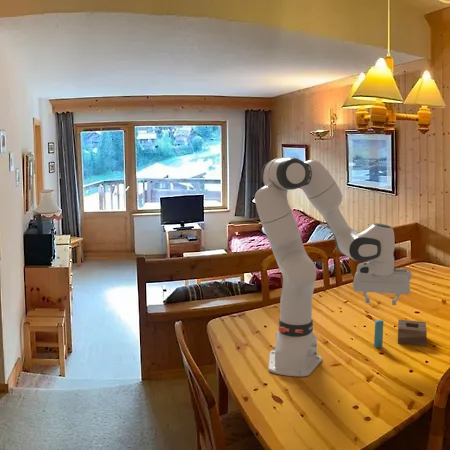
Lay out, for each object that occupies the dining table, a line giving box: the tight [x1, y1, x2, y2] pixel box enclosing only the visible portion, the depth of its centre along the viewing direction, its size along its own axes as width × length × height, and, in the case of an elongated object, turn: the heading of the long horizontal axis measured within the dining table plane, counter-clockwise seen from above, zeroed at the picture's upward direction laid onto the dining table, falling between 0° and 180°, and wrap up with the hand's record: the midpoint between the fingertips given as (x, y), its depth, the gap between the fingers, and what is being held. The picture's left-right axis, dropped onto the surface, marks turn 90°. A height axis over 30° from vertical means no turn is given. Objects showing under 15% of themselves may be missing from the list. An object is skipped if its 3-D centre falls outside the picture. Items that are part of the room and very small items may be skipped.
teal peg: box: [373, 319, 384, 349], centre depth 198 cm, size 3×3×10 cm
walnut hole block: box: [397, 319, 428, 347], centre depth 204 cm, size 10×10×6 cm
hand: (380, 303), depth 196 cm, fingers open, 8 cm apart
